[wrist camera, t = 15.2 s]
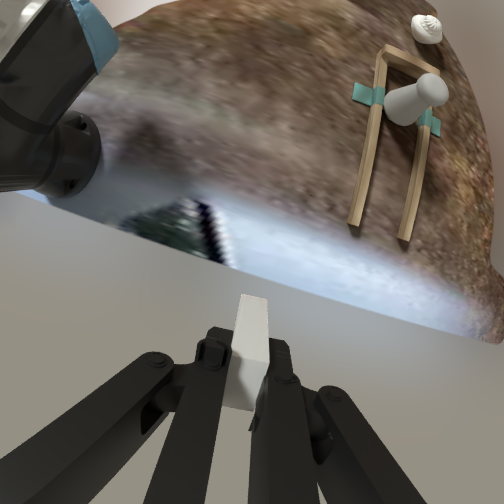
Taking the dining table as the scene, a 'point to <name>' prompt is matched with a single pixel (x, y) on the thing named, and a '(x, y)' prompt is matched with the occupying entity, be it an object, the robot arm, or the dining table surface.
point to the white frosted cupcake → (426, 29)
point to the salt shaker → (415, 99)
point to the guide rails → (376, 101)
